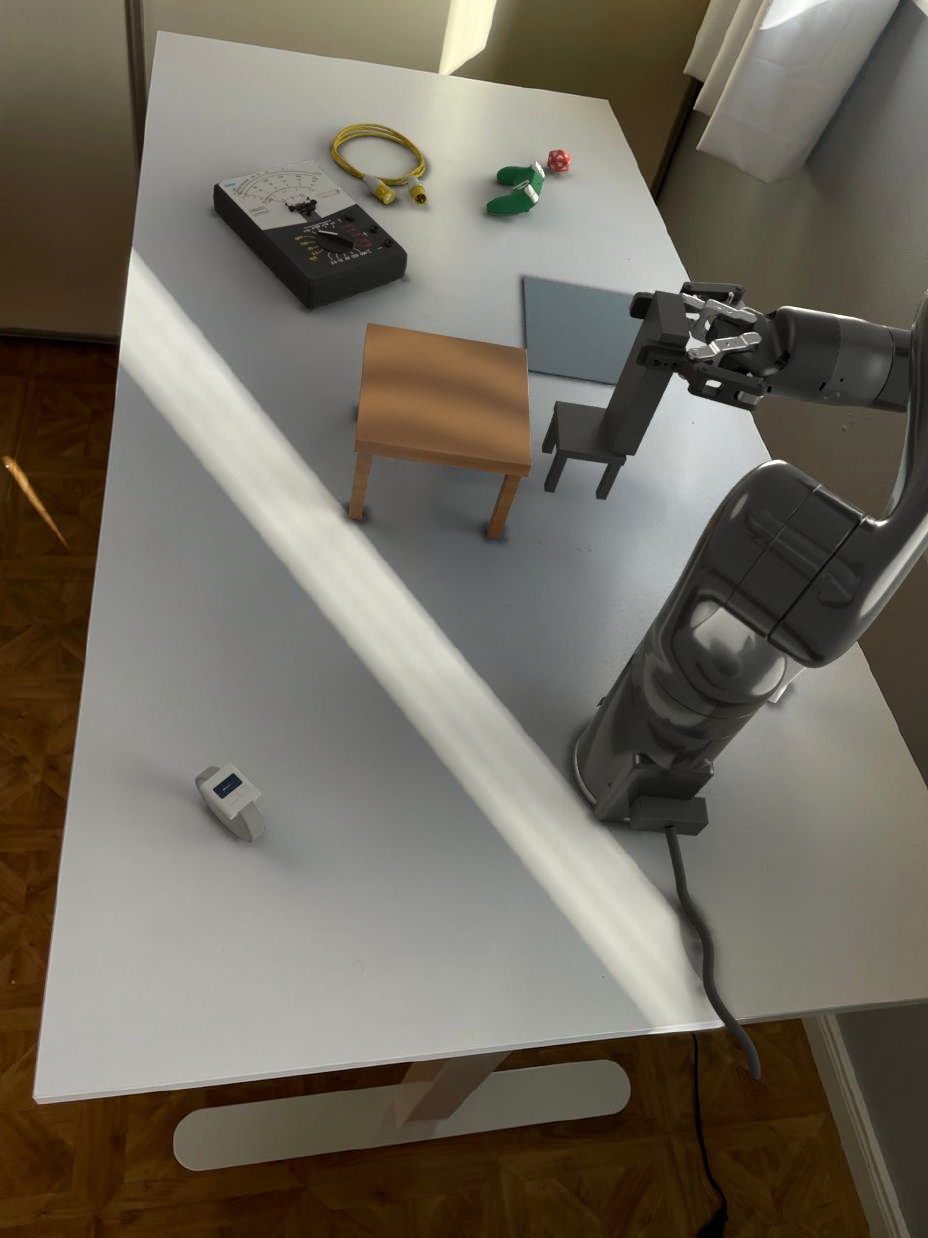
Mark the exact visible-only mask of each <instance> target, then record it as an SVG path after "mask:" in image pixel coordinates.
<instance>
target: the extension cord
mask: <svg viewBox="0 0 928 1238" xmlns="http://www.w3.org/2000/svg"><path fill="white" fill-rule="evenodd" d="M357 131H368V132H358V133H354V132H357ZM369 131H373V132H369ZM374 131H375V132H374ZM377 132H378V133H377ZM352 133H353V134H352ZM349 134H350V135H349ZM365 136H372V137H373V136H374V137H378V138H379V137H380V138H384V139H387V140H390V141H394V142H395V143H398V144H400V145H402V146H404V147H406V148H407V149H409V150H410V151H411V152H412V153H414V155H415V156H416V157H417V159H418V160H419V165H418V167H416V168H415V169H413V170H412V171H410V172H409V173H407V174H405V175H404V176H402V177H397V178H389V177H388V178H387V177H381V176H376V175H375V176H374V175H371V174H369V173H363V172H361V171H360V170H358V169H357V168H356V167H354V166H353V165H351V164H350V163H349V161H346V159H344V158H343V157H342V156H341V155H340V154H339V153H338V151H337V148H338V147H339V146H340V145H341V144H342V143H344V142H346V141H347V140H350V139H353V138H357V137H365ZM331 156H332V158H333V160H334V161H335V162H336V163H337V164H338V165H339V166H340V167H341V168H342V169H344V170H345V171H346V172H347V173H348V174H350V175H351V176H353V177H356V178H359V179H362V183H363V184H364V186H365V187H366V188H367V189H368V191H369V192H370V193H371V195H373V196H374V197H376V198H377V199H378V200H379V201H381V202H382V203H383V204H384V205H388V204H390V203H391V202H394V199H395V197H396V195H395V191H394V190H392V189H391V188H390V187H389V186H402V185H405V184H407V192H408V194H409V195H410V197H411V198H412V199H413V202H414V203H415V204H416V205H418V206H421V205H425V203H426V201H427V195H426V193H425V187H424V184H423V183H422V181H420V180H419V179H418V178H420V177H422V175H423V174H424V172H425V170H426V162H425V160H424V157H423V154H422V152H421V150H420V149H419V148H418V147H417V146H416V145H415V144H414V143H413V142H412V141H411V140H410V139H409V138H407V136H405V135H404V134H402V133H400V132H399V131H397V130H394V129H392V128H391V127H387V126H385V125H381V124H377V123H357V124H352V125H349V126H347V127H345V128H343V129H342V130H341V131H340V132H338V133H337V135H336V136H335V138H334V140H333V143H332V148H331Z"/></svg>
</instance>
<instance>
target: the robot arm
mask: <svg viewBox="0 0 928 1238" xmlns="http://www.w3.org/2000/svg"><path fill="white" fill-rule="evenodd" d="M654 293H655V292H648V291H638V292H636V293H635V294H634V295H633V300H632V302H631V305H630V307H629V312H630V316H631V317H632V318H637V319H641V320H642V321H643V320H644V317H645V315H646V312H647V310H648V308H649V305H650V303H651V300H652V298H653V295H654ZM745 293H746V288H745V287H744V286H743V285H741V284H738V283H721V282H705V281H704V282H703V281H683V284H682V285H681V287H680V290H679V293H678V294H681V295H682V296H683V301H684V306H685V312H686V314H694V315H695V314H696V315H697V314H698V315H699V317H698V318H697V319H694V318H692V317H690V316H688V315H686V317H687V322H688V328H689V333H690V337H691V338H693V339H694V340H696V341H699V342H701V343H703V344H705V345H702V346H695V347H694V346H693V347H690V348H689V349H688V350H687V345H686V346H684V345H678V344H672V343H666V342H660V341H655V340H649V339H645V340H643V341H642V342H641V343H640V345H639V348H638V350H637V352H636V355H635V358H636V363H637V365H639V366H644V367H647V368H649V369H654V370H656V369H657V370H661V371H667V372H673V374H677V375H678V377H679V378H680V379H682V380H684V381H686V382H687V384H688V386H687V392H688V393H689V394H690V395H692V396H694V397H698V398H701V399H705V400H708V401H712V402H716V403H719V404H723V405H726V406H730V407H734V408H737V409H740V410H744V411H746V412H747V411H748V412H754V411H756V409H757V408H758V406H759V405H760V404H761V402H762V400H763V399H764V396H767V397H768V396H769V397H775V398H781V399H788V400H794V401H800V402H807V403H813V404H820V405H824V406H825V405H827V406H833V407H854V408H856V407H857V408H864V409H869V410H877V411H883V412H889V413H894V414H895V413H896V414H906V417H905V429H904V430H905V431H904V436H903V437H904V438H903V443H902V449H901V455H900V459H899V463H898V468H897V472H896V476H895V479H894V483H893V485H892V489H891V491H890V493H889V496H888V498H887V501H886V503H885V506H884V509H883V510H882V513H881V515H880V516H879V518H878V519H877V518H874V517H872V516H871V515H869V514H866V511H864V510H863V509H861V508H859V507H858V506H857V505H856V504H854V503H853V502H851V501H849V500H848V499H846V498H845V497H843V496H842V495H840V494H839V493H837V492H836V491H834V490H833V489H832V488H831V487H829V486H827V485H826V484H824V483H822V482H821V481H819V480H818V479H817V478H816V477H814V476H812V475H811V474H809V473H808V472H807V471H805V470H804V469H802V468H800V467H798V466H797V465H795V464H794V463H791V462H790V461H787V460H784V459H771V460H768V461H764V462H762V463H760V464H759V465H757V466H755V467H753V468H752V469H750V470H749V471H748V472H746V474H744V475H743V476H742V477H741V478H740V479H739V480H738V481H737V482H736V483H735V485H733V487H731V489H730V490H729V491H728V493H726V495H725V496H724V498H723V500H722V501H721V502H720V503H719V504H718V506H717V507H716V509H715V510H714V512H712V513H713V514H712V515H711V517H710V518H709V520H708V521H707V523H706V525H705V527H704V529H703V531H702V532H701V534H700V536H699V538H698V539H697V541H696V544H695V546H694V548H693V550H692V552H691V554H690V556H688V560H687V562H686V564H684V565H685V566H684V568H683V570H682V572H681V574H680V576H679V577H678V579H677V581H676V583H675V584H674V587H673V588H672V590H671V591H670V593H669V595H668V596H667V598H666V600H665V601H664V603H663V604H662V607H661V608H660V610H659V611H658V613H657V615H656V616H655V617H654V619H653V621H652V623H651V624H650V626H649V628H648V629H647V631H646V632H645V634H644V636H643V637H642V639H641V640H640V642H639V643H638V645H637V647H635V650H634V651H633V653H632V655H631V656H630V657H629V659H628V661H627V662H626V664H625V665H624V667H623V669H622V671H621V672H620V674H619V675H618V677H617V678H616V680H615V681H614V683H613V685H612V686H611V688H610V689H609V691H608V693H607V695H606V696H605V695H604V696H603V697H601V699H600V700H599V702H598V703H597V705H596V707H598V709H597V710H596V712H595V714H594V715H593V717H592V719H591V720H590V722H589V724H588V725H587V727H585V729H584V730H583V731H582V733H581V734H580V736H579V737H578V739H577V740H576V743H575V745H574V748H573V752H572V760H571V761H572V762H571V765H572V772H573V776H574V780H575V782H576V785H577V787H578V788H579V790H580V792H581V793H582V795H583V797H585V799H586V800H587V801H588V802H589V803H590V804H591V805H592V807H593V811H594V818H595V819H596V820H598V821H607V822H617V823H625V824H630V830H631V831H634V832H635V831H637V832H647V833H659V834H665V838H666V842H667V846H668V851H669V857H670V862H671V865H672V869H673V875H674V880H675V889H676V893H677V898H678V900H679V902H680V905H681V907H682V909H683V911H684V913H685V914H686V916H687V918H688V919H689V920H690V922H691V923H692V925H693V927H694V928H695V930H696V932H697V935H698V937H699V938H700V939H699V940H700V941H701V942H700V943H701V947H702V968H701V969H702V974H701V977H702V983H703V988H704V992H705V994H706V997H707V999H708V1001H709V1003H710V1005H711V1007H712V1009H713V1010H714V1012H715V1014H716V1015H717V1016H718V1017H719V1019H720V1021H721V1022H722V1023H723V1024H724V1026H726V1028H727V1029H728V1030H729V1031H730V1033H731V1034H732V1035H733V1037H734V1038H735V1039H736V1041H737V1042H738V1044H739V1045H740V1047H741V1049H742V1050H743V1052H744V1054H745V1057H746V1061H747V1065H748V1072H749V1074H750V1077H751V1078H752V1079H753V1080H756V1081H757V1080H760V1079H761V1073H762V1072H761V1063H760V1058H759V1054H758V1051H757V1048H756V1047H755V1045H754V1043H753V1041H752V1039H751V1038H750V1036H749V1035H748V1033H747V1031H745V1029H744V1028H743V1027H742V1025H741V1024H740V1023H739V1022H738V1020H736V1019H735V1017H734V1016H733V1014H732V1013H731V1012H730V1011H729V1009H728V1008H727V1007H726V1005H725V1004H724V1002H723V1001H722V999H721V997H720V995H719V992H718V990H717V986H716V984H715V977H714V972H715V971H714V969H715V948H714V941H713V938H712V936H711V933H710V930H709V928H708V926H707V924H706V923H705V921H704V919H703V918H702V916H701V915H700V914H699V912H698V910H697V908H696V906H695V905H694V904H693V902H692V899H691V896H690V893H689V891H688V885H687V877H686V871H685V866H684V862H683V858H682V851H681V848H680V843H679V838H678V835H681V836H690V837H691V836H692V837H696V836H698V835H700V833H701V832H702V831H703V830H704V829H705V828H706V827H707V826H708V825H709V824H710V821H709V814H708V809H707V808H708V807H707V801H706V797H705V796H697V795H698V793H700V792H701V790H702V789H703V788H704V787H705V786H706V785H707V784H708V782H709V781H710V780H711V779H712V778H713V777H714V775H715V768H714V767H715V766H714V761H715V760H716V759H717V758H718V757H719V755H720V754H721V753H722V752H723V751H724V750H725V748H727V746H728V745H729V744H730V743H731V742H732V741H733V740H734V738H735V737H736V736H737V735H738V734H739V732H741V731H742V729H743V728H744V727H745V726H746V725H747V724H748V723H749V722H750V720H751V719H752V718H753V717H754V716H755V715H756V714H757V712H758V711H759V710H760V709H761V708H762V707H763V706H764V705H765V704H766V703H767V702H769V701H768V699H769V698H770V697H771V696H772V695H773V694H774V693H775V691H776V690H777V689H778V687H779V686H780V684H781V682H782V680H783V678H784V675H785V672H786V669H787V661H788V657H789V658H790V659H792V660H793V661H795V662H797V663H798V664H800V665H802V666H804V667H806V668H807V669H821V668H823V667H826V666H828V665H830V664H832V663H833V662H835V661H837V660H838V659H839V658H841V656H843V655H844V654H845V653H847V652H848V651H849V650H850V649H851V648H852V647H853V646H854V645H855V644H856V642H857V641H859V640H860V638H861V637H862V636H863V635H864V634H865V633H866V631H867V630H868V629H869V628H870V627H871V626H872V624H873V623H874V622H875V621H876V619H878V617H879V615H880V614H881V612H883V610H884V609H885V608H886V606H887V605H888V603H889V602H890V600H891V599H892V598H893V596H894V595H895V593H896V592H897V591H898V590H899V588H900V586H901V585H902V583H903V582H904V581H905V579H906V578H907V577H908V575H909V573H910V572H911V571H912V569H913V568H914V567H915V565H916V564H917V562H918V561H919V560H920V558H921V557H922V555H923V554H924V553H925V551H926V549H927V548H928V288H927V289H926V290H925V292H924V294H923V295H922V297H921V299H920V300H919V303H918V305H917V308H916V311H915V314H914V317H913V321H912V325H911V330H910V329H905V328H900V327H899V328H898V327H894V326H893V327H892V326H887V325H881V324H876V323H873V322H871V321H868V320H865V319H862V318H858V317H853V316H848V315H842V314H836V313H831V312H825V311H819V310H813V309H806V308H802V307H795V306H790V305H784V306H781V307H779V308H777V309H776V310H774V311H772V312H769V313H762V312H759V311H757V310H755V309H753V308H750V307H747V306H746V305H745V303H744V301H743V296H744V295H745ZM695 296H700V298H697V297H695ZM711 316H716V317H715V318H714V319H713V320H712V321H711V323H710V325H709V328H708V329H707V327H706V324H707V321H708V319H709V318H710V317H711ZM711 381H714V382H717V383H720V384H719V385H718V386H712V385H710V384H707V383H708V382H711Z"/></svg>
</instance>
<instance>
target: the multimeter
mask: <svg viewBox="0 0 928 1238" xmlns="http://www.w3.org/2000/svg"><path fill="white" fill-rule="evenodd" d="M212 201H213V209H214V211H215V213H216V214H217V215H218V216H219V217H220V218H221V219H222V220H223V221H224V222H225V223H226V224H227V225H228V227H230V229H231V230H232V231H233V232H234V233H235V234H236V235H237V236H238V237H239V238H240V239H241V240H242V241H243V243H245V244H246V246H248V247H249V249H250V250H251V251H252V252H253V253H254V254H255V255H256V256H257V258H259V259H260V260H261V261H262V262H263V263H264V265H265V266H266V267H267V268H268V269H269V270H271V272H272V273H273V274H274V275H275V276H276V277H277V278H278V280H280V282H282V283H283V284H284V286H286V287H287V289H288V290H289V291H290V292H291V293H292V294H293V295H294V296H295V297H296V298H297V300H299V301H300V302H301V303H302V305H304V307H306V308H307V309H315V308H317V307H320V306H323V305H326V304H329V303H333V302H335V301H338V300H341V299H344V298H347V297H350V296H353V295H357V294H359V293H363V292H365V291H368V290H370V289H374V288H377V287H380V286H383V285H386V284H389V283H393V282H394V281H398V280H401V279H402V278H403V277H404V276H405V273H406V270H407V265H408V253H407V251H406V249H405V248H404V247H403V246H402V245H401V244H399V242H398V241H397V240H396V239H395V238H394V237H392V235H391V234H389V233H388V231H386V229H384V228H383V227H382V226H381V225H380V224H379V223H378V222H377V221H375V219H374V218H373V217H372V216H370V215H369V214H368V213H367V211H366V210H364V208H363V207H361V206H360V205H359V204H358V202H356V201H355V200H354V199H353V198H352V197H351V196H350V195H349V194H348V193H347V192H346V191H344V190H343V188H342V187H340V186H339V184H337V183H336V182H335V181H334V180H333V179H332V178H331V177H330V176H329V175H328V174H327V173H326V172H325V171H324V170H323V169H322V168H320V166H318V165H317V163H315V162H314V161H313V160H311V159H307V160H303V161H299V162H294V163H291V164H287V165H283V166H279V167H274V168H271V169H267V170H262V171H258V172H255V173H251V174H250V173H249V174H247V175H242V176H238V177H234V178H231V179H226V180H223V181H219V182H217V183H215V184H214V185H213V194H212Z"/></svg>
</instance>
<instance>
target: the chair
mask: <svg viewBox="0 0 928 1238" xmlns="http://www.w3.org/2000/svg"><path fill="white" fill-rule="evenodd" d="M653 293H654V295H653V298H652V300H651V303H650V305H649V308H648V310H647V312H646V315H645V317H644V320H643V319H642V324H641V327H640V329H639V332H638V334H637V336H636V339H635V341H634V344H633V346H632V349H631V351H630V353H629V356H628V358H627V361H626V363H625V365H624V368H623V370H622V373H621V375H620V378H619V380H618V382H617V385H615V387H614V390H613V392H612V395H611V397H610V399H609V402H608V404H607V406H606V407H601V406H595V405H588V404H581V403H575V402H568V401H561V400H555V402H554V405H553V414H552V416H551V418H550V422H549V424H548V427H547V430H546V433H545V437H544V438H543V442H542V444H541V452H542V454H548V455H552V454H553V452H554V449H555V454H554V456H553V460H552V462H551V464H550V467H549V469H548V472H547V475H546V477H545V480H544V483H543V491H544V493H551V494H554V493H555V492H556V489H557V487H558V485H559V481H560V479H561V476H562V474H563V472H564V469H565V466H566V464H567V461H568V459H569V460H570V459H571V460H578V461H585V462H590V463H598V464H605V465H606V467H605V470H604V471H603V474H602V476H601V478H600V481H599V483H598V485H597V487H596V489H595V500H601V501H606V500H607V498H608V497H609V494H610V492H611V489H612V488H613V485H614V484H615V481H616V479H617V476H618V474H619V472H620V470H621V468H622V467H624V466H625V464H626V463H627V460H628V458H627V456H629V457H635V456H636V455H637V454H636V453H637V452H638V451H639V450H638V449H639V447H640V445H641V443H642V441H643V439H644V437H645V435H646V432H647V430H648V428H649V427H650V424H651V422H652V420H653V418H654V415H655V413H656V411H657V409H658V407H659V405H660V403H661V401H662V398H663V397H664V394H665V392H666V390H667V387H668V386H669V383H670V381H671V379H672V378H673V375H674V373H673V372H667V371H661V370H657V369H656V370H654V369H649V368H647V367H644V366H639V365H637V363H636V358H635V355H636V352H637V350H638V348H639V345H640V343H641V342H642V341H643V340H645V339H649V340H655V341H660V342H666V343H672V344H678V345H684V346H686V347H687V346H688V343H689V341H690V339H691V332H690V331H689V328H688V322H687V317H686V316H687V313H686V312H685V306H684V301H683V296H682V295H681V294H679V293H674V292H668V291H663V290H657V289H655V291H654V292H653Z"/></svg>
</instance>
